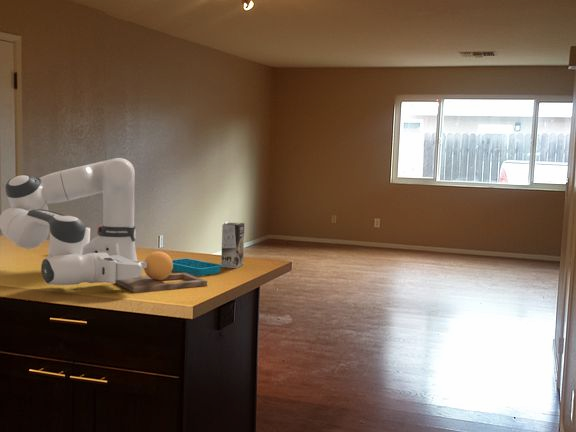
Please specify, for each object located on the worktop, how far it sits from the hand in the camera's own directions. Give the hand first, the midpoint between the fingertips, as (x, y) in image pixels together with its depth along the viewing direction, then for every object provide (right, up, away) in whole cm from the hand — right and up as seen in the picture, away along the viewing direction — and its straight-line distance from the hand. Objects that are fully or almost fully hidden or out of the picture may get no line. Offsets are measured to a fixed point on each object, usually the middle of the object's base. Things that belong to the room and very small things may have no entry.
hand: (145, 264), depth 195 cm
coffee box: (+23, -4, +42) cm, 48 cm away
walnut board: (+4, -7, +4) cm, 9 cm away
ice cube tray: (+10, -5, +30) cm, 32 cm away
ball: (+3, -1, +3) cm, 5 cm away
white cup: (-40, 0, +62) cm, 74 cm away
